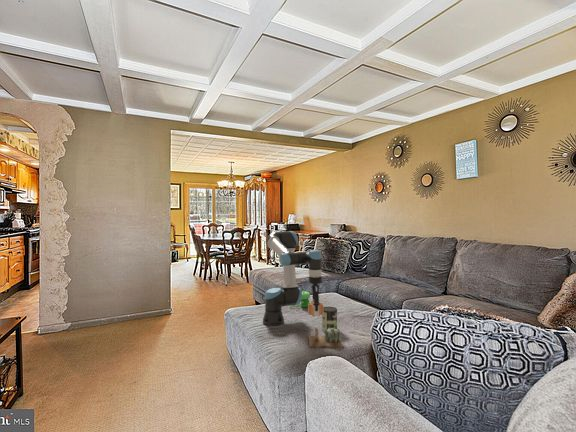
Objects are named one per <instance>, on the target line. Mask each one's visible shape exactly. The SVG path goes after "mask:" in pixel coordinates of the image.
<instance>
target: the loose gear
mask: <svg viewBox="0 0 576 432" xmlns="http://www.w3.org/2000/svg"><path fill="white" fill-rule="evenodd" d="M313 304H314V302H313V301H311V302H309V303H308V307H307V314H308V315H309V316H311V317H315V316H314V306H313ZM323 307H324V303H323V302H319V316H318V317H321V316H322V315H323Z"/></svg>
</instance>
